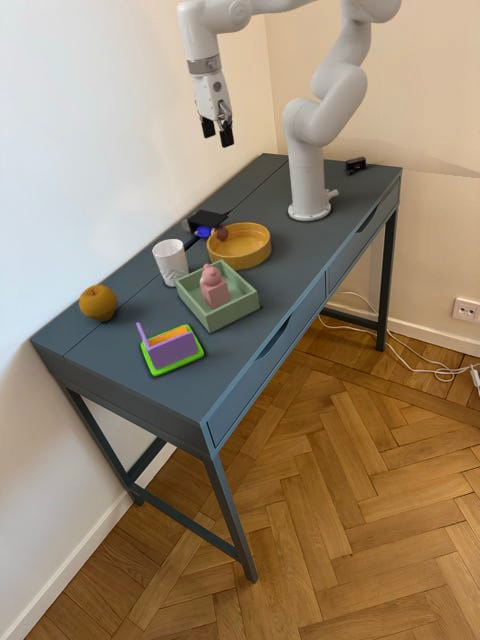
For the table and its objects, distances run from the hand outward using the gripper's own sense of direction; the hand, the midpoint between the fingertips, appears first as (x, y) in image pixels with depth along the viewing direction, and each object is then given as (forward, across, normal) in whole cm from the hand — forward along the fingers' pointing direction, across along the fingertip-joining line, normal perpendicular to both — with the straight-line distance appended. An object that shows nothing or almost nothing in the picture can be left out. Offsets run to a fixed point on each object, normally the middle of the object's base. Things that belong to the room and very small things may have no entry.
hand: (219, 141), depth 114 cm
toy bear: (+28, -22, +18) cm, 40 cm away
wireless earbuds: (+28, +9, -50) cm, 59 cm away
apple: (+28, -8, +43) cm, 52 cm away
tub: (+28, -22, +18) cm, 40 cm away
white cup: (+28, -6, +22) cm, 36 cm away
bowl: (+28, -7, +3) cm, 29 cm away
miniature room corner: (+28, -30, +34) cm, 54 cm away
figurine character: (+28, +7, +6) cm, 30 cm away
